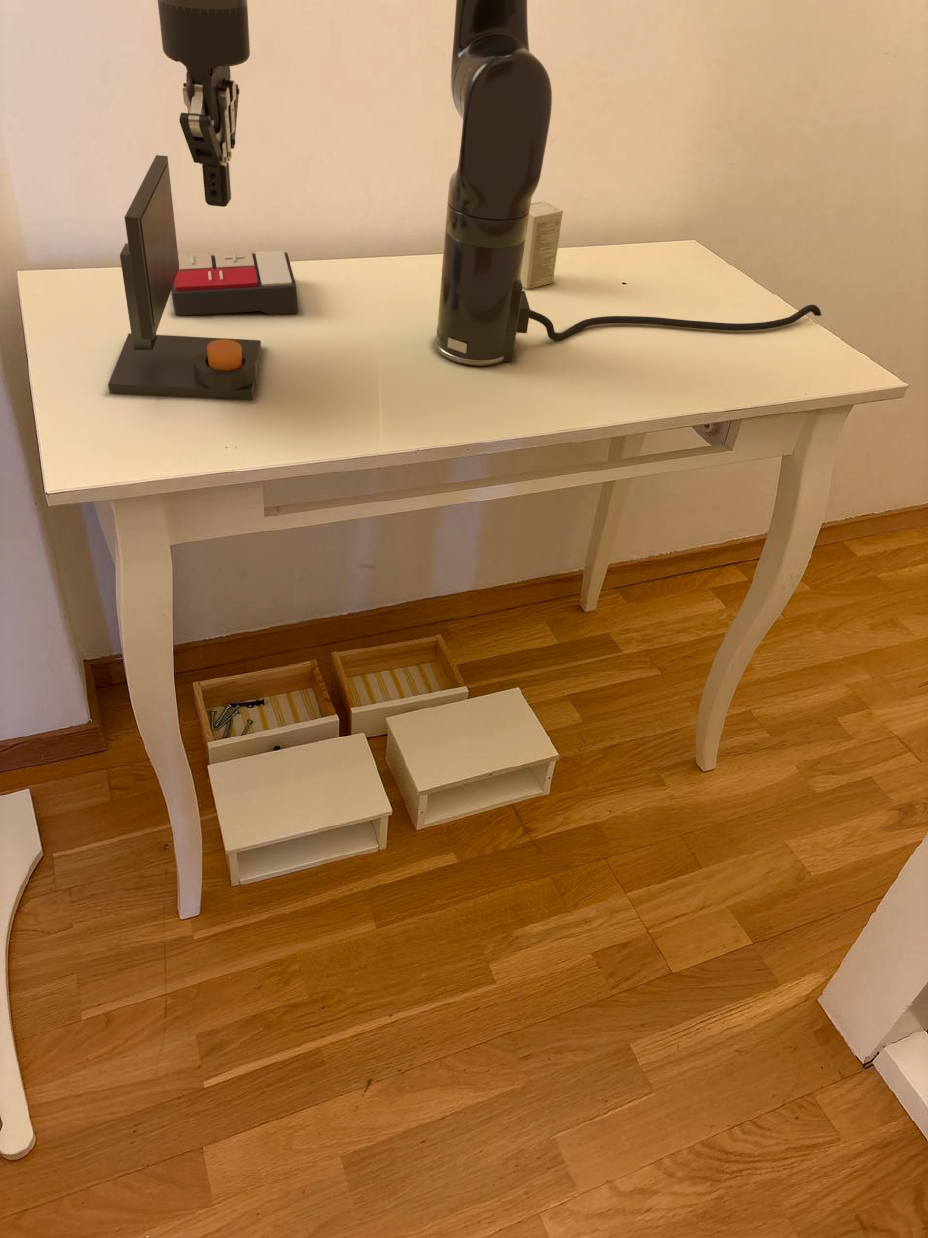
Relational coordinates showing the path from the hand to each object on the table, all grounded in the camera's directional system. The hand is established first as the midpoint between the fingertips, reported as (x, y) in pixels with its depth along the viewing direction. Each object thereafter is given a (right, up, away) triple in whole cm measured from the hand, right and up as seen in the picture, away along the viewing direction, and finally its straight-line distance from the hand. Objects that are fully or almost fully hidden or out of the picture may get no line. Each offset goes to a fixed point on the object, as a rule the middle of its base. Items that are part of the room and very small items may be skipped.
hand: (218, 202), depth 94 cm
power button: (-2, -13, +10) cm, 17 cm away
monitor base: (-7, -13, +14) cm, 20 cm away
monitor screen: (-8, -7, +8) cm, 14 cm away
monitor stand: (-11, -11, +11) cm, 19 cm away
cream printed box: (+33, +7, +42) cm, 54 cm away
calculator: (-5, 0, +29) cm, 30 cm away
